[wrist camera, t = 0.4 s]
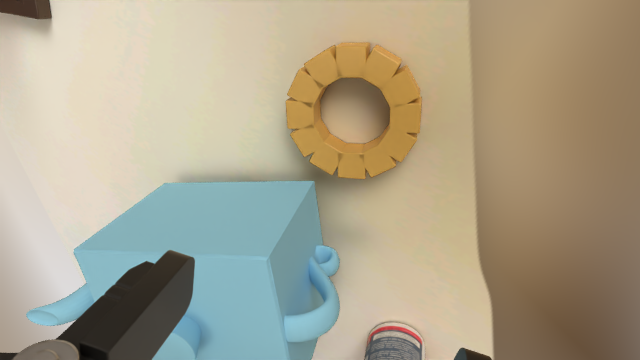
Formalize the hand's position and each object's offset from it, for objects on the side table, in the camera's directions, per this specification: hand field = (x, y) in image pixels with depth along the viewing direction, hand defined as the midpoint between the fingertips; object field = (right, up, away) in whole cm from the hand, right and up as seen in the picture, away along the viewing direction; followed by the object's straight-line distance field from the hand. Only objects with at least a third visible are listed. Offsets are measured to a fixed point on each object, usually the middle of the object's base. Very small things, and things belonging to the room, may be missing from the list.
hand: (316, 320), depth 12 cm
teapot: (-7, 0, +25) cm, 26 cm away
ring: (+3, +9, +17) cm, 20 cm away
